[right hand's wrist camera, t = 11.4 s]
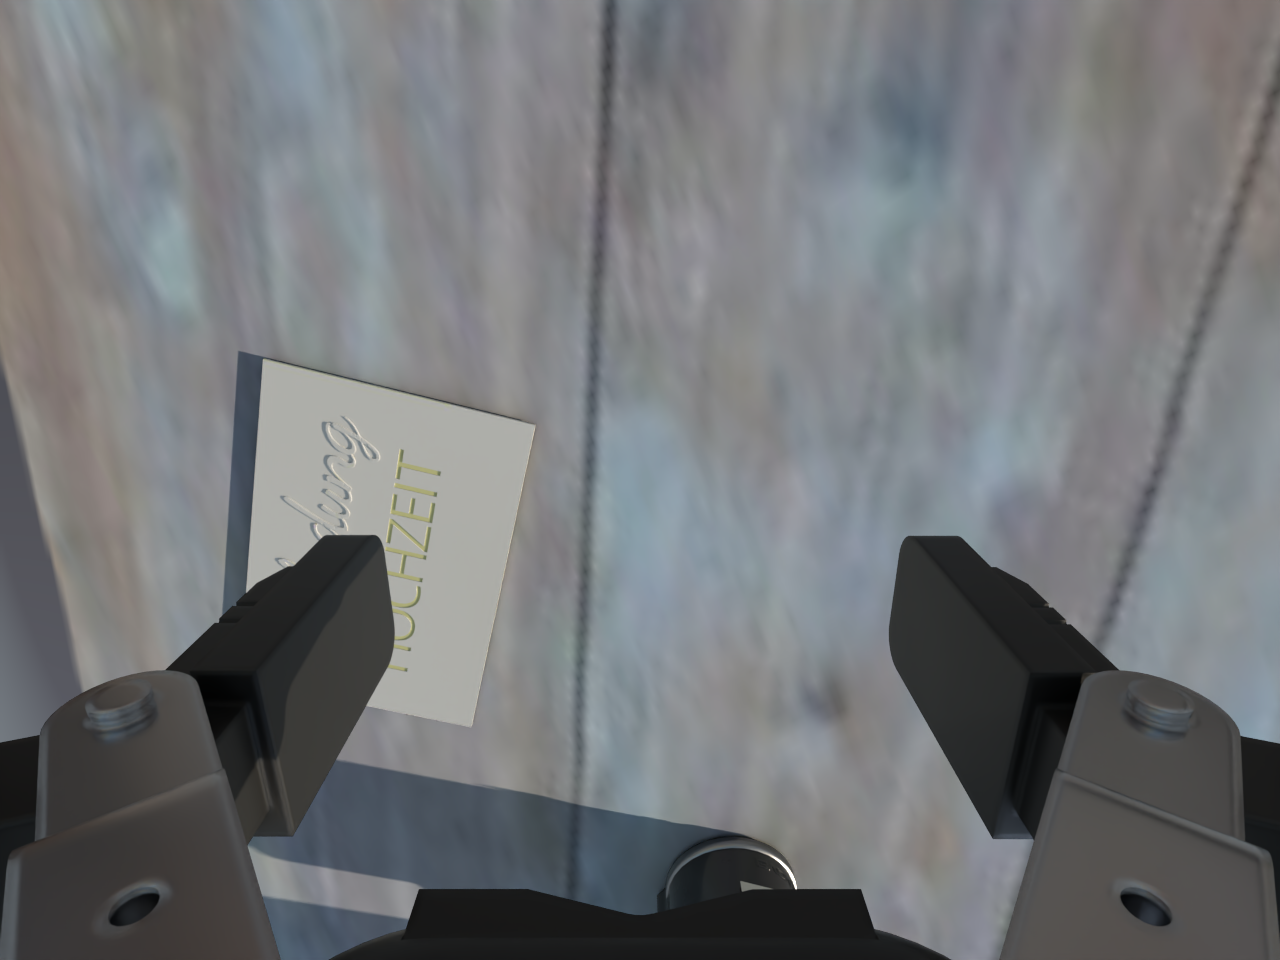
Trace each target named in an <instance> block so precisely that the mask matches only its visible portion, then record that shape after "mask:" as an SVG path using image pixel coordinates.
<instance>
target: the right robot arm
mask: <svg viewBox="0 0 1280 960" xmlns="http://www.w3.org/2000/svg"><path fill="white" fill-rule="evenodd" d="M236 603H237V605H236V606H232V607H231V608H230V609H229V610H228V611H227V612H226V613H225V614H224V615H223V616H222V617H220V618H219V623H214V624H213V625H212V626H211V627H210V628H209V629H208V630H207V631H206V632H205V633H204V634H203V635H202V636H201V637H199V638H198V639H197V640H196V641H195V642H194V643H193V644H192V645H191V646H190V647H189V648H188V649H187V650H186V651H185V652H184V653H183V654H182V655H181V656H180V657H178V658H177V659H176V660H175V661H174V662H173V663H172V664H171V665H170V666H169V667H168V668H167V669H166V670H162V671H149V672H142V673H137V674H132V675H128V676H124V677H120V678H117V679H114V680H111V681H108V682H106V683H103V684H101V685H98V686H96V687H93V688H91V689H89V690H87V691H85V692H83V693H81V694H80V695H78V696H76V697H75V698H73V699H71V700H70V701H68V702H67V703H66V704H64V705H63V706H61V707H60V708H59V709H58V710H57V711H55V712H54V713H53V714H52V715H51V716H50V717H49V719H48V720H47V721H46V722H45V724H44V725H43V727H42V729H41V732H40V735H38V736H32V737H28V738H22V739H17V740H12V741H6V742H2V743H0V960H281V959H280V955H279V952H278V949H277V945H276V942H275V938H274V935H273V932H272V928H271V925H270V921H269V918H268V915H267V911H266V908H265V904H264V901H263V898H262V894H261V891H260V887H259V884H258V880H257V877H256V874H255V870H254V867H253V863H252V860H251V857H250V853H249V850H248V846H247V845H248V844H249V842H250V840H251V839H252V837H253V836H293V835H294V833H295V832H296V830H297V828H298V826H299V824H300V823H301V821H302V819H303V817H304V815H305V814H306V812H307V810H308V808H309V807H310V805H311V803H312V801H313V799H314V798H315V796H316V794H317V792H318V791H319V789H320V787H321V785H322V783H323V782H324V780H325V778H326V776H327V775H328V773H329V771H330V769H331V767H332V766H333V764H334V762H335V760H336V758H337V757H338V755H339V753H340V751H341V750H342V748H343V746H344V744H345V742H346V741H347V739H348V737H349V735H350V734H351V732H352V730H353V728H354V726H355V725H356V723H357V721H358V719H359V718H360V716H361V714H362V712H363V710H364V709H365V707H366V705H367V703H368V701H369V700H370V698H371V696H372V694H373V693H374V691H375V689H376V687H377V685H378V684H379V682H380V680H381V678H382V677H383V675H384V673H385V671H386V669H387V668H388V666H389V663H390V661H391V657H392V654H393V648H394V640H395V626H394V617H393V610H392V603H391V596H390V588H389V581H388V574H387V566H386V559H385V552H384V547H383V544H382V542H381V540H380V538H379V537H378V536H377V535H325V536H323V537H322V538H321V539H320V540H319V541H318V542H317V543H316V544H315V545H314V546H313V547H312V548H311V549H310V550H309V551H308V552H307V553H306V554H305V555H304V556H303V557H302V558H301V559H300V560H299V561H298V562H297V563H296V564H295V565H294V566H288V567H286V568H284V569H282V570H280V571H278V572H276V573H274V574H272V575H271V576H269V577H267V578H265V579H263V580H261V581H259V582H257V583H256V584H255V585H254V586H253V587H252V588H251V589H250V590H249V591H248V592H247V593H246V594H245V595H244V596H243V597H241V598H240V599H239V600H238V601H237V602H236ZM889 644H890V651H891V656H892V659H893V662H894V665H895V667H896V669H897V671H898V673H899V675H900V676H901V678H902V680H903V682H904V683H905V685H906V687H907V689H908V690H909V692H910V694H911V696H912V697H913V699H914V701H915V703H916V704H917V706H918V708H919V710H920V711H921V713H922V715H923V717H924V718H925V720H926V722H927V724H928V726H929V727H930V729H931V731H932V733H933V734H934V736H935V738H936V740H937V741H938V743H939V745H940V747H941V748H942V750H943V752H944V754H945V755H946V757H947V759H948V761H949V762H950V764H951V766H952V768H953V770H954V771H955V773H956V775H957V777H958V778H959V780H960V782H961V784H962V785H963V787H964V789H965V791H966V792H967V794H968V796H969V798H970V799H971V801H972V803H973V805H974V806H975V808H976V810H977V812H978V814H979V815H980V817H981V819H982V821H983V822H984V824H985V826H986V828H987V829H988V831H989V833H990V835H991V836H992V838H993V839H1034V843H1033V846H1032V850H1031V853H1030V857H1029V860H1028V863H1027V867H1026V870H1025V874H1024V877H1023V880H1022V884H1021V887H1020V891H1019V894H1018V898H1017V901H1016V904H1015V908H1014V911H1013V915H1012V918H1011V921H1010V925H1009V928H1008V932H1007V935H1006V938H1005V942H1004V945H1003V949H1002V952H1001V955H1000V959H999V960H1280V744H1279V743H1273V742H1268V741H1263V740H1258V739H1253V738H1248V737H1243V736H1240V732H1239V729H1238V727H1237V725H1236V724H1235V722H1234V721H1233V720H1232V719H1231V717H1230V716H1229V715H1228V714H1227V713H1226V712H1225V711H1223V710H1222V709H1221V708H1220V707H1219V706H1217V705H1216V704H1215V703H1213V702H1212V701H1210V700H1209V699H1207V698H1205V697H1204V696H1202V695H1200V694H1199V693H1197V692H1195V691H1193V690H1191V689H1189V688H1187V687H1184V686H1182V685H1179V684H1177V683H1174V682H1172V681H1169V680H1166V679H1163V678H1160V677H1156V676H1152V675H1148V674H1143V673H1138V672H1131V671H1120V670H1118V669H1117V668H1116V667H1115V666H1114V665H1113V664H1112V663H1111V662H1110V661H1109V660H1108V659H1107V658H1106V657H1105V656H1104V655H1103V654H1101V653H1100V652H1099V651H1098V650H1097V649H1096V648H1095V647H1094V646H1093V645H1092V644H1091V643H1090V642H1089V641H1088V640H1087V639H1086V638H1085V637H1083V636H1082V635H1081V634H1080V633H1079V632H1078V631H1077V630H1076V629H1075V628H1074V627H1073V626H1072V625H1071V624H1066V620H1065V619H1064V618H1063V617H1062V616H1061V615H1060V614H1059V613H1058V612H1057V611H1056V610H1055V609H1054V608H1049V603H1047V602H1046V601H1045V600H1044V599H1043V598H1042V597H1041V596H1040V595H1039V594H1038V593H1037V592H1036V591H1035V590H1034V589H1033V588H1032V587H1031V586H1029V585H1028V584H1027V583H1025V582H1023V581H1021V580H1019V579H1017V578H1016V577H1014V576H1012V575H1010V574H1008V573H1006V572H1004V571H1002V570H1000V569H999V568H997V567H991V566H989V565H988V564H987V563H986V562H985V561H984V560H983V559H982V558H981V557H980V556H979V555H978V554H977V553H976V552H975V551H974V550H973V549H972V548H971V547H970V546H969V545H968V544H967V543H966V542H965V541H964V540H963V539H962V538H961V537H959V536H908V537H906V538H905V539H904V541H903V543H902V545H901V548H900V553H899V560H898V567H897V574H896V581H895V588H894V596H893V603H892V610H891V617H890V625H889ZM657 909H658V913H654V914H648V915H632V914H626V913H622V912H618V911H614V910H610V909H606V908H602V907H598V906H594V905H590V904H586V903H582V902H578V901H573V900H569V899H565V898H561V897H557V896H553V895H549V894H545V893H541V892H537V891H533V890H529V889H419V891H418V894H417V897H416V900H415V903H414V906H413V909H412V912H411V915H410V918H409V921H408V924H407V927H406V929H404V930H401V931H397V932H393V933H390V934H387V935H384V936H381V937H378V938H376V939H373V940H370V941H367V942H364V943H362V944H360V945H358V946H356V947H353V948H351V949H349V950H347V951H345V952H343V953H341V954H338V955H336V956H335V957H333V958H331V959H329V960H951V959H949V958H947V957H945V956H944V955H942V954H939V953H937V952H935V951H933V950H931V949H929V948H927V947H924V946H922V945H920V944H918V943H916V942H913V941H910V940H907V939H904V938H902V937H899V936H896V935H893V934H890V933H887V932H883V931H880V930H876V929H874V927H873V924H872V921H871V918H870V915H869V912H868V909H867V906H866V903H865V900H864V897H863V894H862V891H861V889H797V887H796V883H795V878H794V874H793V871H792V868H791V866H790V864H789V863H788V861H787V860H786V859H785V857H784V856H783V855H782V854H781V853H779V852H778V851H777V850H776V849H774V848H772V847H771V846H769V845H767V844H765V843H762V842H760V841H757V840H753V839H748V838H741V837H725V838H717V839H713V840H709V841H706V842H703V843H700V844H698V845H696V846H694V847H692V848H690V849H689V850H687V851H686V852H685V853H683V854H682V855H681V856H680V857H679V858H678V859H677V860H676V861H675V863H674V864H673V865H672V867H671V869H670V871H669V873H668V876H667V880H666V888H665V889H664V890H663V891H662V892H661V893H659V894H658V895H657Z"/></svg>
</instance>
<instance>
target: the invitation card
mask: <svg viewBox="0 0 1280 960" xmlns="http://www.w3.org/2000/svg"><path fill="white" fill-rule="evenodd" d="M535 425H536V424H532V423H528V422H524V421H520V420H516V419H512V418H508V417H504V416H500V415H495V414H491V413H487V412H483V411H479V410H475V409H471V408H467V407H463V406H458V405H454V404H450V403H446V402H442V401H438V400H434V399H430V398H426V397H422V396H417V395H413V394H409V393H405V392H401V391H397V390H393V389H389V388H385V387H380V386H376V385H372V384H368V383H364V382H360V381H356V380H352V379H348V378H344V377H339V376H335V375H331V374H327V373H323V372H319V371H315V370H311V369H307V368H302V367H298V366H294V365H290V364H286V363H282V362H278V361H274V360H270V359H266V358H264V359H263V366H262V380H261V394H260V408H259V421H258V435H257V449H256V462H255V476H254V490H253V503H252V517H251V531H250V544H249V558H248V572H247V585H246V593H247V592H248V591H249V590H250V589H251V588H252V587H253V586H254V585H255V584H256V583H257V582H259V581H261V580H263V579H265V578H267V577H269V576H271V575H272V574H274V573H276V572H278V571H280V570H282V569H284V568H286V567H288V566H294V565H295V564H296V563H297V562H298V561H299V560H300V559H301V558H302V557H303V556H304V555H305V554H306V553H307V552H308V551H309V550H310V549H311V548H312V547H313V546H314V545H315V544H316V543H317V542H318V541H319V540H320V539H321V538H322V537H323V536H325V535H377V536H378V537H379V538H380V540H381V542H382V544H383V547H384V552H385V559H386V566H387V574H388V581H389V588H390V596H391V603H392V610H393V617H394V626H395V640H394V648H393V654H392V657H391V661H390V663H389V666H388V668H387V669H386V671H385V673H384V675H383V677H382V678H381V680H380V682H379V684H378V685H377V687H376V689H375V691H374V693H373V694H372V696H371V698H370V700H369V701H368V703H367V705H366V706H369V707H374V708H379V709H384V710H389V711H394V712H399V713H404V714H408V715H413V716H418V717H423V718H428V719H433V720H438V721H443V722H447V723H452V724H457V725H462V726H467V727H471V726H472V722H473V717H474V713H475V708H476V703H477V699H478V694H479V689H480V684H481V680H482V675H483V670H484V666H485V661H486V656H487V651H488V647H489V642H490V637H491V633H492V628H493V623H494V618H495V614H496V609H497V604H498V600H499V595H500V590H501V586H502V581H503V576H504V571H505V567H506V562H507V557H508V553H509V548H510V543H511V538H512V534H513V529H514V524H515V520H516V515H517V510H518V505H519V501H520V496H521V491H522V487H523V482H524V477H525V473H526V468H527V463H528V458H529V454H530V449H531V444H532V440H533V435H534V430H535Z"/></svg>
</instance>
